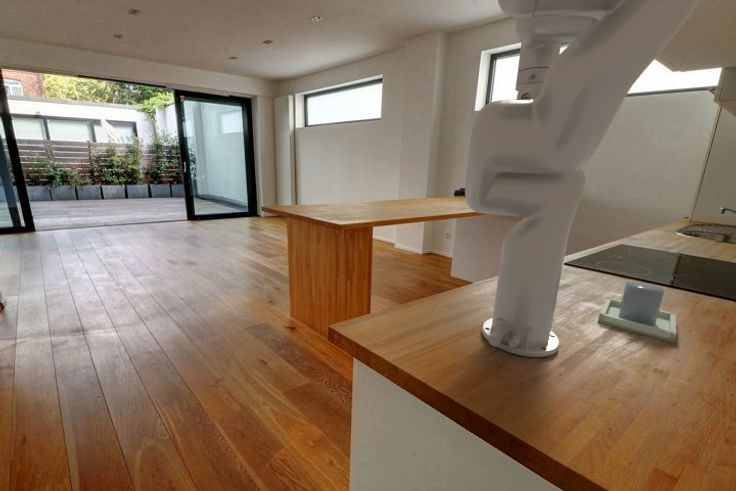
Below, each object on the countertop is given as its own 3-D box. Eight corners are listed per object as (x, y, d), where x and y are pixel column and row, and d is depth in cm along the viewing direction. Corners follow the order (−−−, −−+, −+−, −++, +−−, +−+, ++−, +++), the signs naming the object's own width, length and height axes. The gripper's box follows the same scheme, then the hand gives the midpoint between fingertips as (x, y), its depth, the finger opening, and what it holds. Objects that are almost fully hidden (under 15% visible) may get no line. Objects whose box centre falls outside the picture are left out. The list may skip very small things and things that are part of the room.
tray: (673, 343, 61) (676, 334, 60) (597, 322, 68) (599, 313, 68) (673, 321, 69) (675, 313, 69) (605, 304, 77) (607, 297, 76)
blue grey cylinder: (655, 329, 64) (664, 295, 63) (616, 319, 68) (624, 286, 66) (656, 319, 69) (664, 287, 67) (620, 310, 73) (627, 279, 71)
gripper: (543, 70, 63) (529, 165, 67) (564, 86, 75) (551, 165, 80) (502, 75, 67) (492, 163, 72) (529, 90, 80) (518, 164, 84)
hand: (523, 164), depth 76 cm, fingers open, 9 cm apart
